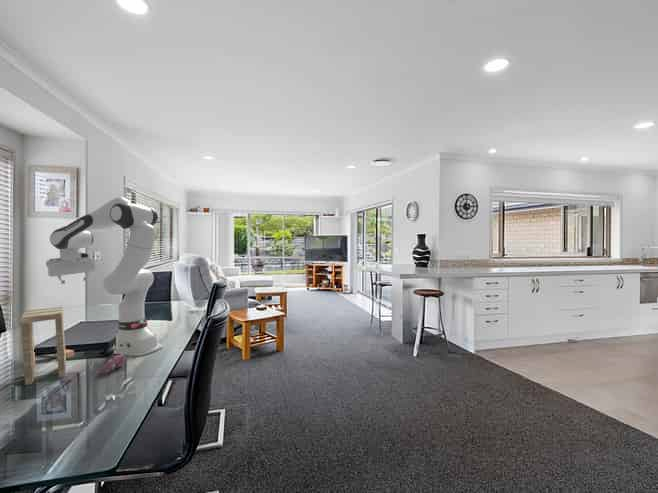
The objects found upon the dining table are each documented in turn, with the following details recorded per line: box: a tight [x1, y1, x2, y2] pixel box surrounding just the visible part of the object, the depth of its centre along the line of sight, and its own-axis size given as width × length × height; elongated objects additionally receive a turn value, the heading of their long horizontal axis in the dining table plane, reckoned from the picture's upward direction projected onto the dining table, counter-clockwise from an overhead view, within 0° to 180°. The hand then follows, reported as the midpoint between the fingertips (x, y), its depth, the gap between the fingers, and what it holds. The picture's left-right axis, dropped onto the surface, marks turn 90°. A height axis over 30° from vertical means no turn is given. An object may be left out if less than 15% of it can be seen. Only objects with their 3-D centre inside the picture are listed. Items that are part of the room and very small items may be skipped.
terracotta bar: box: [52, 349, 75, 359], centre depth 158 cm, size 22×3×3 cm, turn 76°
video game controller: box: [99, 354, 128, 374], centre depth 140 cm, size 10×5×7 cm, turn 171°
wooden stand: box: [19, 306, 67, 386], centre depth 135 cm, size 16×12×26 cm
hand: (74, 282), depth 177 cm, fingers open, 8 cm apart
